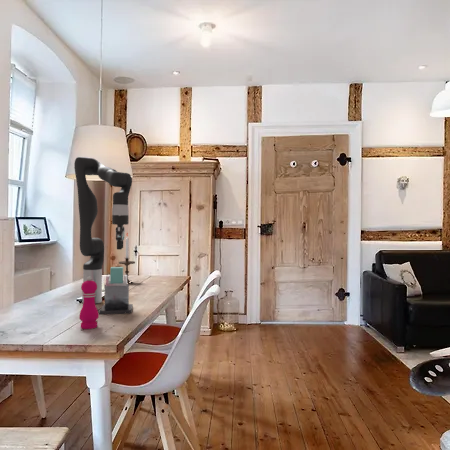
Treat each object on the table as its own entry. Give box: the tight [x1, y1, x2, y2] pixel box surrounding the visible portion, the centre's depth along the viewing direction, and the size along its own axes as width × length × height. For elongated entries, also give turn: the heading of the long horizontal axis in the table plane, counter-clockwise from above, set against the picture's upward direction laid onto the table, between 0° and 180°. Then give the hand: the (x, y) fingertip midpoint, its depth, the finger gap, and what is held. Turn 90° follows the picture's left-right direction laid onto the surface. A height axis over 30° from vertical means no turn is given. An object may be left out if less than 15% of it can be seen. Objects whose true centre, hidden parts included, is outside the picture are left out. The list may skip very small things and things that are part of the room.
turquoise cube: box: [109, 266, 124, 283], centre depth 195 cm, size 6×5×7 cm
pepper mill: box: [79, 276, 100, 330], centre depth 164 cm, size 7×7×20 cm
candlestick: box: [118, 232, 136, 283], centre depth 284 cm, size 11×11×35 cm
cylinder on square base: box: [98, 274, 134, 315], centre depth 195 cm, size 14×14×16 cm
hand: (120, 248), depth 196 cm, fingers open, 8 cm apart
